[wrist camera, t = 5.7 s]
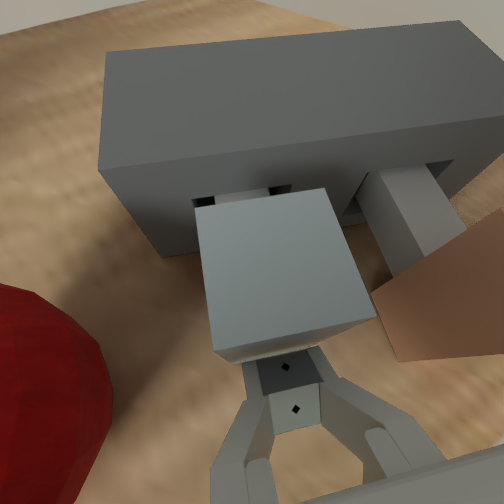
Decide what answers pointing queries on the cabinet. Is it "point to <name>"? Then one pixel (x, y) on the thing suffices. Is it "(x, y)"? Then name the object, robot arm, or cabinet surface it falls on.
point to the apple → (48, 401)
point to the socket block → (294, 119)
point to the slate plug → (277, 273)
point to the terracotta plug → (434, 268)
